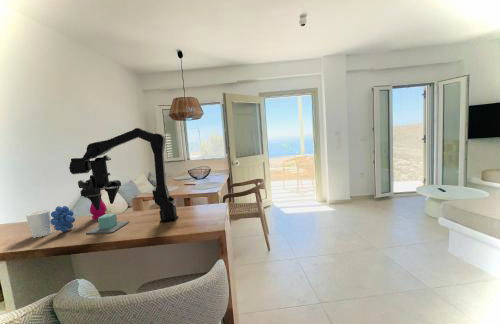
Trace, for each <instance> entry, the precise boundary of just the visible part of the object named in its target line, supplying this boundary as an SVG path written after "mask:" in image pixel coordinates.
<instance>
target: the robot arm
mask: <svg viewBox="0 0 500 324" xmlns="http://www.w3.org/2000/svg"><path fill="white" fill-rule="evenodd" d="M138 138H139V139H141V140H144V141H146V142H148V143H150V144H149V145H150V147H151V151H152V153H153V157H154V170H155V171H154V172H155V173H154V174H155V184H156V186H155V187H154V188H153V189H152V190H151V192H152V201H154V203H155V205H157V206H159V218H160V220H159V222H160V223H167V222H170V223H171V222H175V221H176V220H177V219H178V218H179V215H178V214H177V205H175V201H176V199H175V198H174V197H172V196H171V195H170V192H169V188H168V185H167V183H166V170H165V157H164V154H165V153H164V152H165V147H166V137H165V136H164V135H163V134H162V133H158V132H157V133H152V132H150V131H148V130H144V129H143V128H142V127H141V128H140V127H135V128H134V129H132V130H130V131H127V132H124V133H122V134H120V135H119V134H118V135H117V136H114V137H111V138H109V139H106V140H100V141H96V142H90V143H88V145H87V147H86V152H85V153H84V155H83V156H82V157H80V158H79V157H72V158H71V159H70V162H69V166H68V170H69V172H70V173H71V175H79V174H89V173H90V172H91V174H90V176H89V179H87V180H85V179H80V180H78V181H77V186H78V188H79V189H81V190H80V192H79V193H80V197H83V198H85V199H88V200H89V201H90V202H91V203H92V204H93V205H94V207H95V209H96V210H100V203H101V198H102V194H100V192H101V193H102V191H103V190H104V191H105V192H106V193H107V197H108V201H109V204H110V205H113V204H114V202H115V200H116V198H117V194H118V191H119V189H120V187H122V181H121V180H117V179H116V180H110V178H109V176H111V172H108V166H107V165H108V164H107V162H109V161H111V160H112V158H111V157H109V156H108V155H107V153H108V152H110V151H112V150H113V149H115V148H116V147H118V146H120V145H124V144H126V143H129V142H131V141H134V140H136V139H138Z"/></svg>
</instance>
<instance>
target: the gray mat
mask: <svg viewBox="0 0 500 324" xmlns="http://www.w3.org/2000/svg"><path fill="white" fill-rule="evenodd" d="M129 223H130V221H129V220H128V221H117V225H116V226H114V227H112V228H111V229H99V225H98V226H96V227H94V228H93V229H90V230H88V231H87V232H86V233H85V234H86V235H96V234H97V235H99V234H114V233H116V232H117V231H118V230H120V229H122V228H123V227H124V226H126V225H128V224H129Z"/></svg>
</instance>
